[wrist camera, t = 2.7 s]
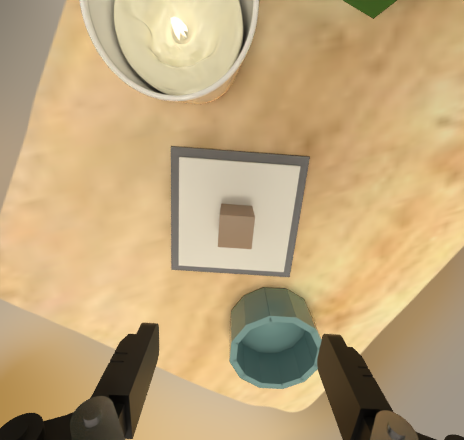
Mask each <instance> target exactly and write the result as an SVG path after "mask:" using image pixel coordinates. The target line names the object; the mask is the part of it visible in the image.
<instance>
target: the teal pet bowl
mask: <svg viewBox="0 0 464 440" xmlns="http://www.w3.org/2000/svg"><path fill="white" fill-rule="evenodd" d="M321 341H322V339H321V337H320V335H319V332H318V330H317V328H316V325H315V323H314V320H313V318H312V316H311V314H310V311H309V309H308V307H307V305H306V303H305V301H304V299H303V298H301V297H299V296H298V295H296V294H294V293H293V292H291V291H289V290H288V289H283V288H267V287H264V288H261V289H259V290H256V291H254V292H251V293H249V294H246V295H244V296H243V297H242V298H241V300H240V301H239V302H238V303H237V305H236V306H235V307H234V308H233V309H232V311H231V321H230V360H229V361H230V363H231V365H232V366H233V368H234V369H235V371H236V372H237V374H238V376H239V377H240V378H241V379H243V380H245V381H247V382H249V383H251V384H253V385H255V386H257V387H259V388H274V389H284V388H287V387H290V386H293V385H296V384H299V383H302V382H305V381H306V380H307V379H308V378H309V377H310V376H311V375H312V374H313V373H314V372H315V371H316V370H317V369H318V366H317V357H318V353H319V349H320V345H321Z"/></svg>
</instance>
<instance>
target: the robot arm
mask: <svg viewBox="0 0 464 440" xmlns="http://www.w3.org/2000/svg"><path fill="white" fill-rule="evenodd" d="M158 355H159V325H158V324H156V323H142V324H141V325H140V328H139V330H138V332H137V334H128V335H127V336H126V337H125V338H124V339H123V340H122V341H121V342H120V343H119V345H118V347H117V349H116V350H115V353H114V354H113V356H112V358H111V360H110V363H109V364H108V366H107V368H106V370H105V372H104V373H103V375H102V377H101V379H100V381H99V383H98V385H97V387H96V389H95V391H94V393H93V395H92V396H91V398H90V399H88V400H86V401H85V402H83V403H82V404H81V405H80V406H79V407H78V408H77V409H76V410H75V411H74V412H73V413H70V414H68V415H65V416H61V417H58V418H54V419H51V420H47V421H43V419H42V417H41V416H40V415H38V414H36V413H26V414H22V415H20V416H17V417H15V418H13V419H12V420H10V421H9V422H7V423H6V424H5V425H3V426H2V427H1V428H0V440H125V439H133V436H134V433H135V430H136V427H137V424H138V421H139V417H140V414H141V411H142V408H143V405H144V402H145V399H146V395H147V392H148V389H149V386H150V383H151V380H152V377H153V373H154V370H155V367H156V364H157V360H158ZM317 366H318V371H319V374H320V377H321V380H322V383H323V386H324V388H325V391H326V394H327V397H328V400H329V402H330V405H331V408H332V411H333V414H334V416H335V419H336V422H337V424H338V427H339V430H340V433H341V436H342V438H343V440H436V439H433V438H430V437H428V436H425V435H422V434H420V433H417V432H415V430H414V429H413V427H412V426H411V425H410V424H409V423H408V422H407V421H406V420H405V419H404V418H402V417H401V416H400V415H398V414H396V413H394V412H393V410H392V408H391V407H390V405H389V403H388V402H387V400H386V398H385V396H384V394H383V393H382V391H381V389H380V387H379V386H378V384H377V382H376V381H375V379H374V378H373V375H372V374H371V372H370V370H369V369H368V367H367V365H366V363H365V361H364V359H363V358H362V356H361V355H360V354H359V353H358V352H357V351H356V350H355V349H354V348H353V347H347V345H346V344H345V342H344V340H343V338H342V336H341V335H334V334H324V335H323V337H322V341H321V345H320V349H319V353H318V357H317ZM444 440H464V437H462V436H459V435H448V436H446V438H445V439H444Z"/></svg>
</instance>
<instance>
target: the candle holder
mask: <svg viewBox="0 0 464 440" xmlns="http://www.w3.org/2000/svg"><path fill="white" fill-rule="evenodd" d="M79 1H80V7H81V11H82V15H83V19H84V22H85V26H86V28H87V31H88V33H89V36H90V38H91V40H92V42H93V44H94V46H95V48H96V50H97V51H98V53H99V55H100V56H101V58H102V59H103V60H104V62H105V63H106V64H107V66H108V67H109V68H110V69H111V70H112V71H113V72H114V73H115V74H116V75H117V76H118V77H119V78H120V79H121V80H122V81H124V82H125V83H126V84H127V85H129V86H130V87H132V88H133V89H135V90H137V91H139V92H140V93H143V94H145V95H147V96H150V97H153V98H156V99H160V100H165V101H177V102H183V103H188V104H206V103H210V102H212V101H215V100H217V99H218V98H220V97H221V96H222V95H224V94H225V93H226V92H227V91H228V89H229V88H230V87H231V85H232V84H233V82H234V80H235V78H236V76H237V74H238V72H239V69H240V67H241V64H242V62H243V60H244V58H245V57H246V55H247V53H248V50H249V48H250V46H251V43H252V40H253V37H254V34H255V30H256V25H257V19H258V10H259V0H79Z"/></svg>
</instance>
